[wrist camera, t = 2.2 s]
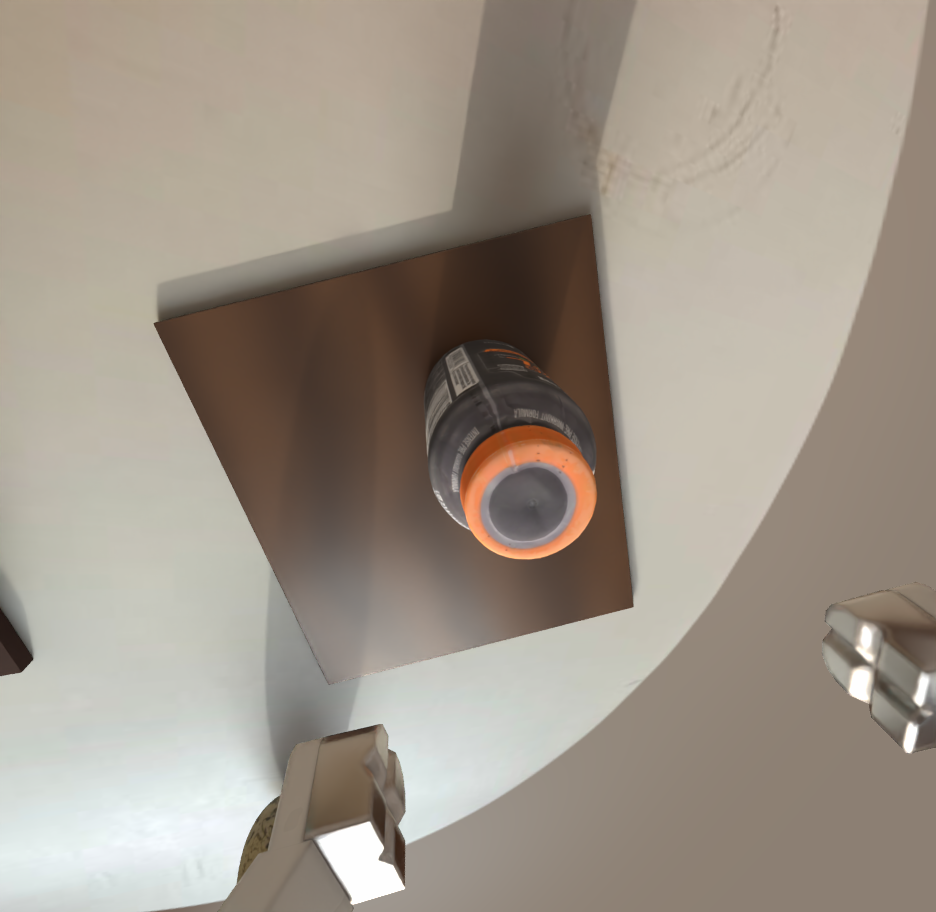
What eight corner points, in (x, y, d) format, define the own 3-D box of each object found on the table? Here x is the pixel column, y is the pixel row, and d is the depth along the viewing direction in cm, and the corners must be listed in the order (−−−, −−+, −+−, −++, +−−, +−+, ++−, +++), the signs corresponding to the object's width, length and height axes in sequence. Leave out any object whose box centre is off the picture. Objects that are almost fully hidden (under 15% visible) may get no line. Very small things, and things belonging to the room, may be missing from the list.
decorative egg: (300, 755, 34) (259, 945, 25) (361, 792, 36) (344, 979, 27) (240, 798, 35) (180, 994, 26) (303, 831, 37) (268, 1023, 28)
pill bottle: (564, 391, 25) (673, 496, 15) (484, 472, 26) (532, 620, 16) (479, 310, 23) (535, 364, 12) (397, 402, 24) (387, 520, 14)
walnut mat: (588, 214, 22) (591, 213, 22) (631, 603, 31) (634, 607, 31) (156, 321, 22) (152, 323, 22) (329, 680, 31) (328, 685, 31)
